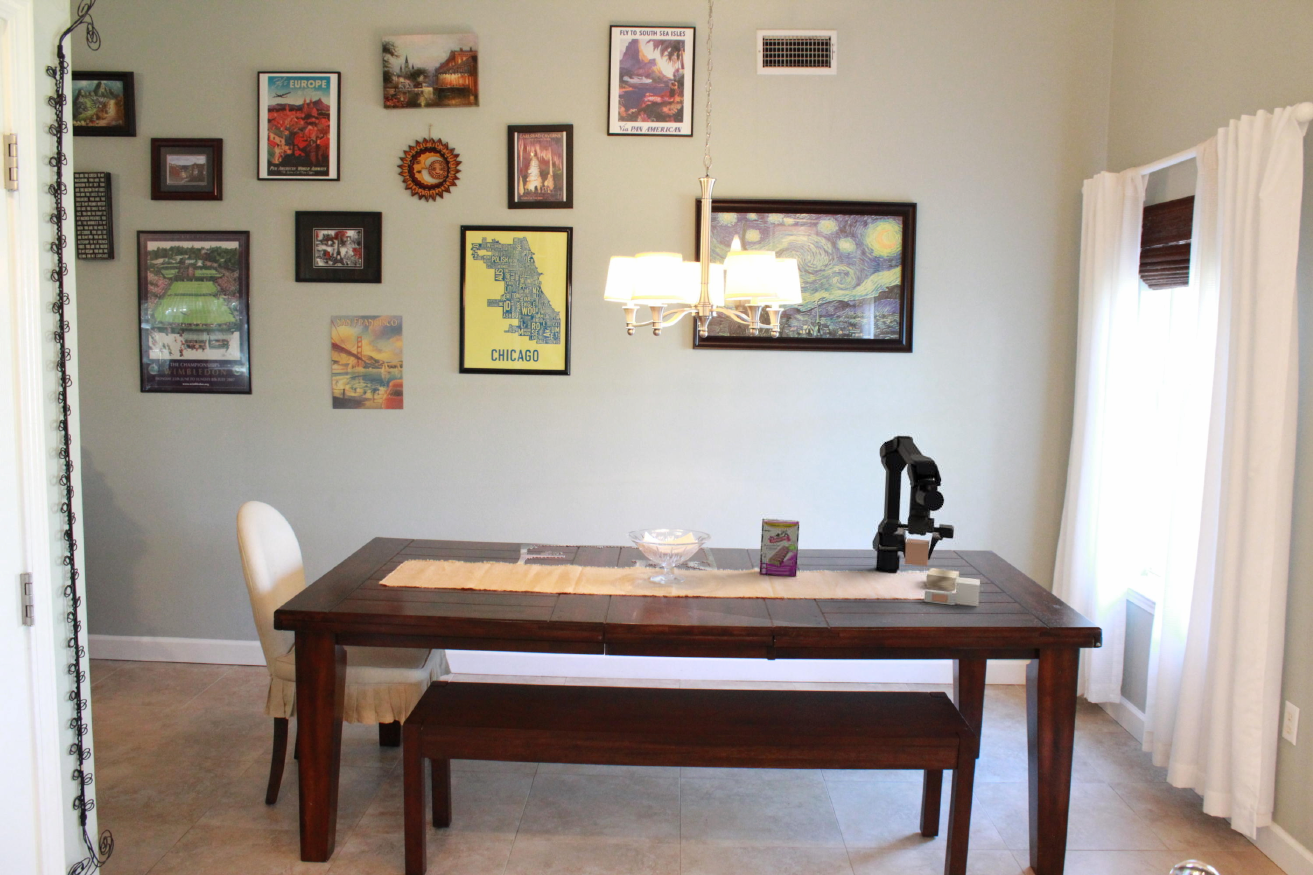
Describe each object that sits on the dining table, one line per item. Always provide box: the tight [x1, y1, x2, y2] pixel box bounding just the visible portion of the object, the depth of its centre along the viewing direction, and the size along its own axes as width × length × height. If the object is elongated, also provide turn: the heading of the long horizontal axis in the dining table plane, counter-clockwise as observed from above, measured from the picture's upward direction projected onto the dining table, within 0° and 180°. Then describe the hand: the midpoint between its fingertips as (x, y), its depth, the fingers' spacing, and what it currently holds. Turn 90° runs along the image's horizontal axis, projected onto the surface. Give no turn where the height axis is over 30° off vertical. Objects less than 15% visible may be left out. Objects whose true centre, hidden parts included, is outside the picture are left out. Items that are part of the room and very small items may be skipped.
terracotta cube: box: [904, 538, 931, 567], centre depth 254 cm, size 6×6×6 cm
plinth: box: [923, 588, 956, 606], centre depth 247 cm, size 8×2×3 cm, turn 70°
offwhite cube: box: [955, 576, 981, 607], centre depth 249 cm, size 6×6×6 cm
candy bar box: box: [759, 518, 800, 577], centre depth 272 cm, size 11×5×16 cm, turn 84°
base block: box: [925, 567, 960, 592], centre depth 265 cm, size 8×8×4 cm
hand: (916, 558), depth 254 cm, fingers closed on terracotta cube, 6 cm apart
